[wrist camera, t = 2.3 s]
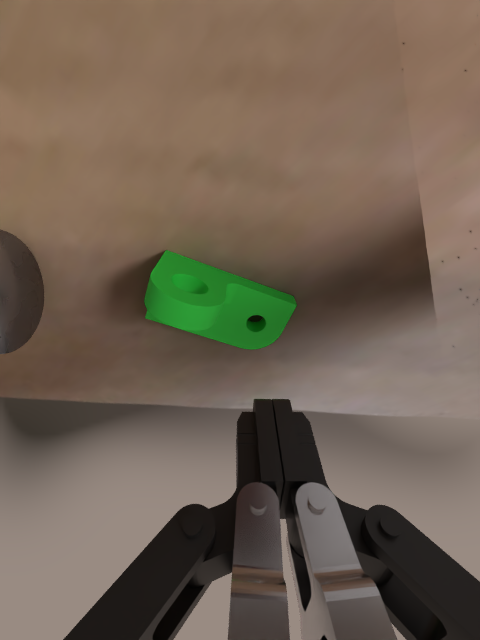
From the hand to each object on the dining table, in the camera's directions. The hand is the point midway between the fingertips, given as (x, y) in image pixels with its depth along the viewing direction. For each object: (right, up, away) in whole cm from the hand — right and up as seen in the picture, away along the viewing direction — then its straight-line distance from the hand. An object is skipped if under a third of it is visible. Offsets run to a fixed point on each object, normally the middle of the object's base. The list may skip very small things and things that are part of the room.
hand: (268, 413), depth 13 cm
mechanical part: (-3, +6, +15) cm, 17 cm away
